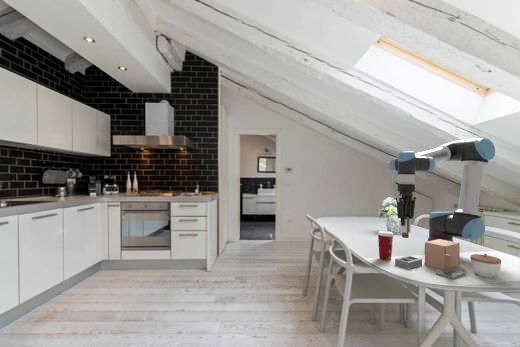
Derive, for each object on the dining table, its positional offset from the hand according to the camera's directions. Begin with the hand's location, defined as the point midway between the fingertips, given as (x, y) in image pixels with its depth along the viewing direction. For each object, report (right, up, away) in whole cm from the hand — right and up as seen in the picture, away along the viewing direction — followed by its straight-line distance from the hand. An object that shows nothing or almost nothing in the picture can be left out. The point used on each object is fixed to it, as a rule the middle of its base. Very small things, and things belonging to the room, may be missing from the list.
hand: (405, 231), depth 137 cm
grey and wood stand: (+14, -17, -11) cm, 25 cm away
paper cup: (-5, -17, +11) cm, 21 cm away
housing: (+19, -17, +2) cm, 25 cm away
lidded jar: (+30, -17, -11) cm, 36 cm away
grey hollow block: (+2, -16, +1) cm, 17 cm away
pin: (0, -3, 0) cm, 3 cm away
